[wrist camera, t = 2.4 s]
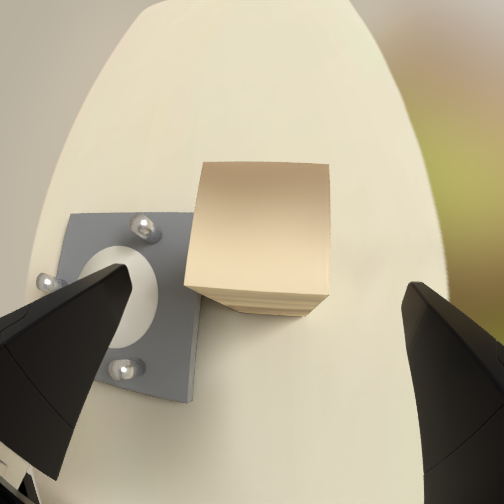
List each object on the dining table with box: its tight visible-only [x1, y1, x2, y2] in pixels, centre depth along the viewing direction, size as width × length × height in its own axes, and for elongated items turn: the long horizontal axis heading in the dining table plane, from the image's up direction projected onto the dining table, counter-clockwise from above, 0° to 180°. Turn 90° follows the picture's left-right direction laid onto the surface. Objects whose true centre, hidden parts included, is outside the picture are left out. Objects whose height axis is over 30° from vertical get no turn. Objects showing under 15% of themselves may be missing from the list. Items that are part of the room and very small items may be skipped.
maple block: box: [184, 162, 331, 316], centre depth 13 cm, size 4×4×10 cm
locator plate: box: [36, 212, 202, 403], centre depth 17 cm, size 12×12×4 cm
